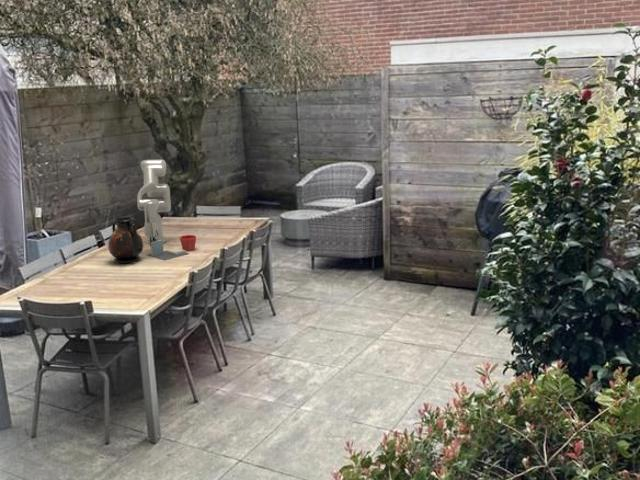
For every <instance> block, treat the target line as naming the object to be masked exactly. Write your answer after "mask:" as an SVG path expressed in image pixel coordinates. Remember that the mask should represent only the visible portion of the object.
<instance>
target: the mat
mask: <svg viewBox="0 0 640 480" xmlns="http://www.w3.org/2000/svg"><path fill="white" fill-rule="evenodd" d="M163 253H164V254H162V255H158V256H152V253H151V254H147V255H146V257H150V258H153V259H157V260H161V261H169V260H171V259H176V258H180V257H184V256H188V255H190V252H189V253H188V252H185V253H184V254H180V255H176V256H175V255H172V254H168V253H167V250H163Z"/></svg>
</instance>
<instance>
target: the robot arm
mask: <svg viewBox="0 0 640 480" xmlns="http://www.w3.org/2000/svg"><path fill="white" fill-rule="evenodd" d="M139 164H140V169H141V171H142V173H143V186H142V187H141V188H140V189H139V191H138V193H137V199H136V200H137V209H138V210H139V211H142V212H143V211H144V236H145V237H146V239H148V240H147V244H149V247H150V248H151V242H153V241H158V240H163V244H164V243H166V239H165V238H164V234H163V222H162V221H163V220H162V217H161V216H160V214H159V213H169V212H170V211H171V210H172V203H171V190H170V189H171V188H170V186H169V185H168V184H167V183H159V177H164V176H166V172H167V163H166V161H165V160H164V159H144V160H141V161H140V163H139ZM145 194H146V195H147V197H149V198H145V199H142V198H143V196H144V195H145Z"/></svg>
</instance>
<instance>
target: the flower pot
mask: <svg viewBox="0 0 640 480" xmlns="http://www.w3.org/2000/svg"><path fill="white" fill-rule="evenodd" d="M179 240H180V245H181V247H182V248H181V249H182V250H185V252H191V251H194V250H195V247H196V240H197V236H196V235H193V234H186V235H181V236H179Z"/></svg>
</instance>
